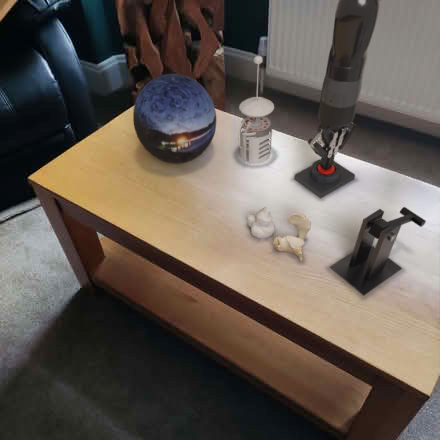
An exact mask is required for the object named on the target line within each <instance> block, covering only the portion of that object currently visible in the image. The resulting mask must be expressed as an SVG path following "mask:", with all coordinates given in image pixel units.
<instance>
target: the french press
mask: <svg viewBox="0 0 440 440" xmlns="http://www.w3.org/2000/svg"><path fill="white" fill-rule="evenodd" d="M253 63H254V64H257V71H256V72H257V73H256V74H257V75H256V77H257V79H256V96H252V97H249V98H246V99H245V100H243V101H242V102H241V103H240V104H239V105H238V106H239V111H240V112H241V114H242V115H245V116H246V117H244V118H243V119H242V120H241V121H240V122H241V124H240V126H239V129H238V134H237V143H238V146H239V156H240V158H241V160H242V161H243V162H246V163H248V164H250V165H251V164H252V165H259V164H263V163H265V162H267V161H268V160H269V159H270V158H271V154H272V153H271V152H272V151H271V150H272V137H273V126H272V121H271V119H270V118H269V117H267V116H268V115H270V114H271V113H272V112H273V111H274V109H275V104H274V103H273V101H271V100H269V99H268V98H265V97H263V96H259V95H258V94H259V69H260V68H259V67H260V66H259V65H260V64H262V63H263V57H262V56H261V55H256V56H254V58H253ZM243 129H244V130H243ZM254 133H255V134H254ZM247 134H248V135H247Z"/></svg>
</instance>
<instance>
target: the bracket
mask: <svg viewBox="0 0 440 440" xmlns="http://www.w3.org/2000/svg"><path fill="white" fill-rule="evenodd" d="M384 214H385V211H384V210H383V209H381V208H379V209H377V210H376V211H374V212H372V213H371V214H369V215H367V216H366V217H364V218H363V219H362V222H361V225H360V229H359V232H358V234H357V237H356V241H355V245H354V247H353V250H352V252H351V253H349V254H348V255H346V256H345V257H343V258H342V259H340V260H339V261H337V262H335V263H334V264H332V265H331V266H329V269H330V270H331V271H333V272H334V273H335V274H336V275H337V276H339V277H340V278H341V279H342V280H343V281H345V282H346V283H347V284H348V285H350V286H351V287H352V289H355V291H356V292H358V293H359V294H361V295H362V296H363V297H365V296H366V295H367V294H369V293H370V292H372V291H373V290H375V289H376V288H377V287H379V286H380V285H381V284H383V283H385V282H386V281H387V280H388V279H390V278H391V277H393V276H394V275H396V274H397V273H398V272H400V271H401V270H403V268H402V267H401V266H400V265H399V264H397V263H396V262H395V261H393V260H392V259H391V258H389V257H390V254H391V252H392V250H393V247H394V245H395V242H396V240H397V237H398V235H399V233H400V230H401V227H402V223H400V222H399V221H397V222H395V223H394V224H392V225H391V226H389V227H388V228H386V229H384V230H383V231H381V233H380V236H379V238H378V239H377V241H376V243H375V247H374V246H373V244H374V242H375V239H376V238H375V237H374V236H372V235H371V234H370V233H368V232H369V230H370V228H371V226H372V224H373V222H374V221H377V220H380V219H383V217H384Z"/></svg>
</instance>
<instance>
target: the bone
mask: <svg viewBox="0 0 440 440" xmlns="http://www.w3.org/2000/svg"><path fill="white" fill-rule="evenodd" d="M287 221H288V223H289V224H290V225H292V226H295V227H296V229H297V236H294V235H288V234H287V235H284V236H283V237H281V236H279V235H277V236H276V237H274V238H273V242H272V247H273V248H274V249H276V250H277V251H279V252H287V253H288V252H289V253H292V254H294V255H295V256H297V258H298V259H299V260H300V261H301V262H302V261H303V255H304V254H303V252H302V249H303V248H302V247H303V245H304V244H306V242H305V239H306V237H307V235H308V233H309V231H310V230H311V229H312V222H311V220H310V219H309V218H308V217H307V215H305V214H303V213H299V212H293V213H292V214H290V216H288V217H287Z"/></svg>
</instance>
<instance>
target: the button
mask: <svg viewBox="0 0 440 440" xmlns="http://www.w3.org/2000/svg"><path fill="white" fill-rule="evenodd" d="M317 171H318V172H320V173H321V174H326V175H327V174H332V173H334V171H335V167H334V165H332V168H330V169H329V170H327V171H326V170H324V169H323V168H321V166H320V164H319V165H318V167H317Z"/></svg>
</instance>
